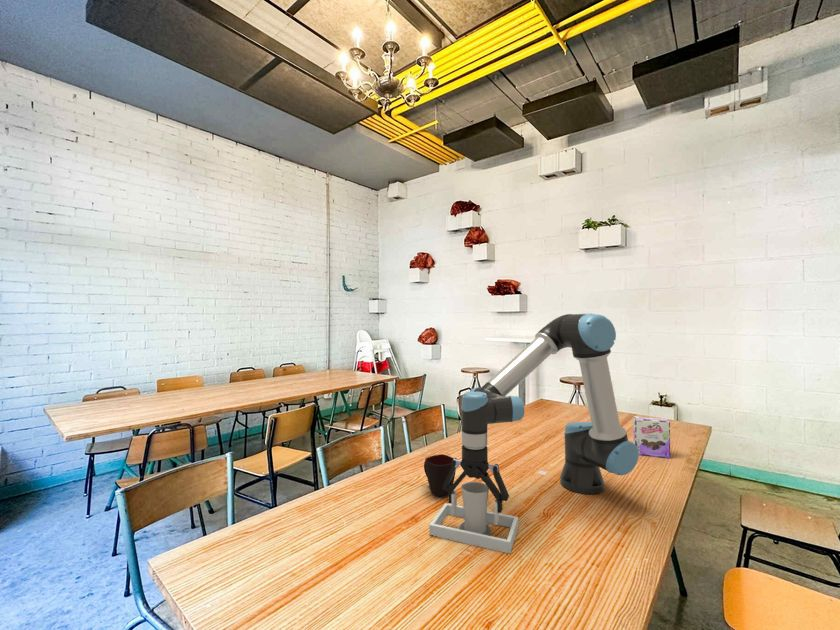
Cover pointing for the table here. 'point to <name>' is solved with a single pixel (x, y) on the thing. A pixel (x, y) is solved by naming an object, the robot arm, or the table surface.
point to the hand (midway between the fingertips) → (475, 518)
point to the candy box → (652, 436)
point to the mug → (438, 473)
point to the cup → (475, 506)
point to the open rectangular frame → (473, 537)
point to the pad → (487, 532)
